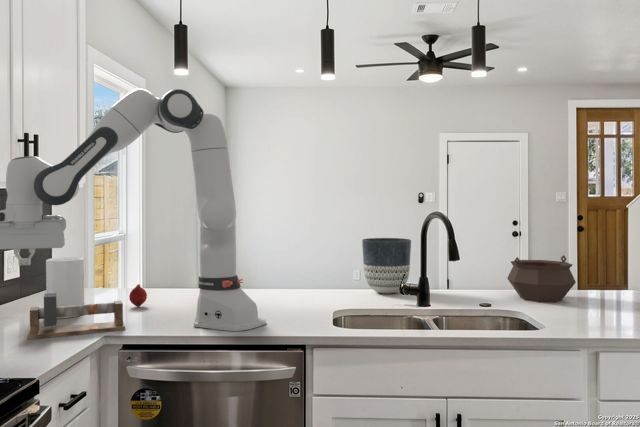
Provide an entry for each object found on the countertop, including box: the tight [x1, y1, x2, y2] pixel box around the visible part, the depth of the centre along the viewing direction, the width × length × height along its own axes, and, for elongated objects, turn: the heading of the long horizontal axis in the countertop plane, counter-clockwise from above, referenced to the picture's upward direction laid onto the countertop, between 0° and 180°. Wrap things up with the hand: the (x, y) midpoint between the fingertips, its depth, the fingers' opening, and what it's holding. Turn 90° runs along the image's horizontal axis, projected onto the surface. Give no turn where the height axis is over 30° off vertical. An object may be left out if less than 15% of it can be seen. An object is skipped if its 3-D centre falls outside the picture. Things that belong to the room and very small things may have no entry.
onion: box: [128, 283, 148, 308], centre depth 192 cm, size 6×6×8 cm
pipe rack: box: [27, 300, 126, 340], centre depth 157 cm, size 25×8×8 cm, turn 115°
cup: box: [45, 256, 85, 320], centre depth 179 cm, size 11×11×18 cm
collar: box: [43, 293, 58, 328], centre depth 154 cm, size 3×6×8 cm, turn 24°
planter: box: [361, 237, 412, 295], centre depth 219 cm, size 20×20×21 cm
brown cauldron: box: [506, 254, 577, 303], centre depth 205 cm, size 24×24×16 cm
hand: (24, 265), depth 151 cm, fingers closed
